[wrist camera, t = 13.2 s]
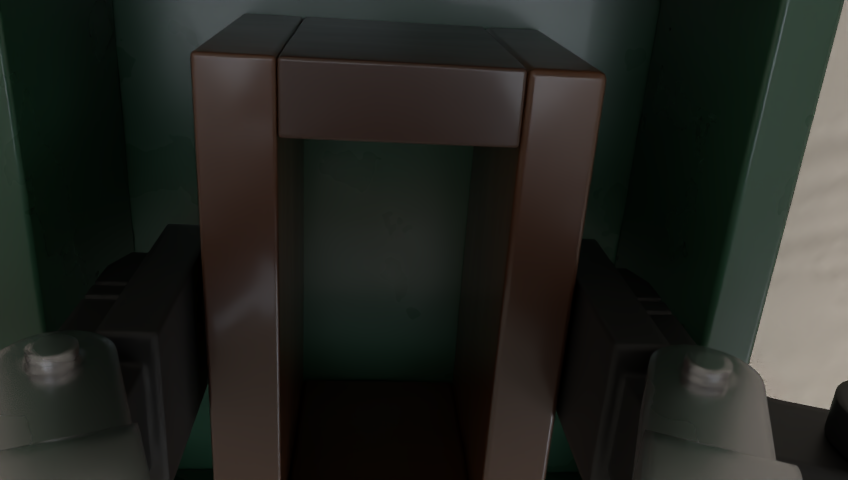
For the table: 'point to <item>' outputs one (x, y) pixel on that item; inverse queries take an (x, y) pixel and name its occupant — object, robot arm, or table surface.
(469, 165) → the holder
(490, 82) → the frame
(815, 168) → the table surface
